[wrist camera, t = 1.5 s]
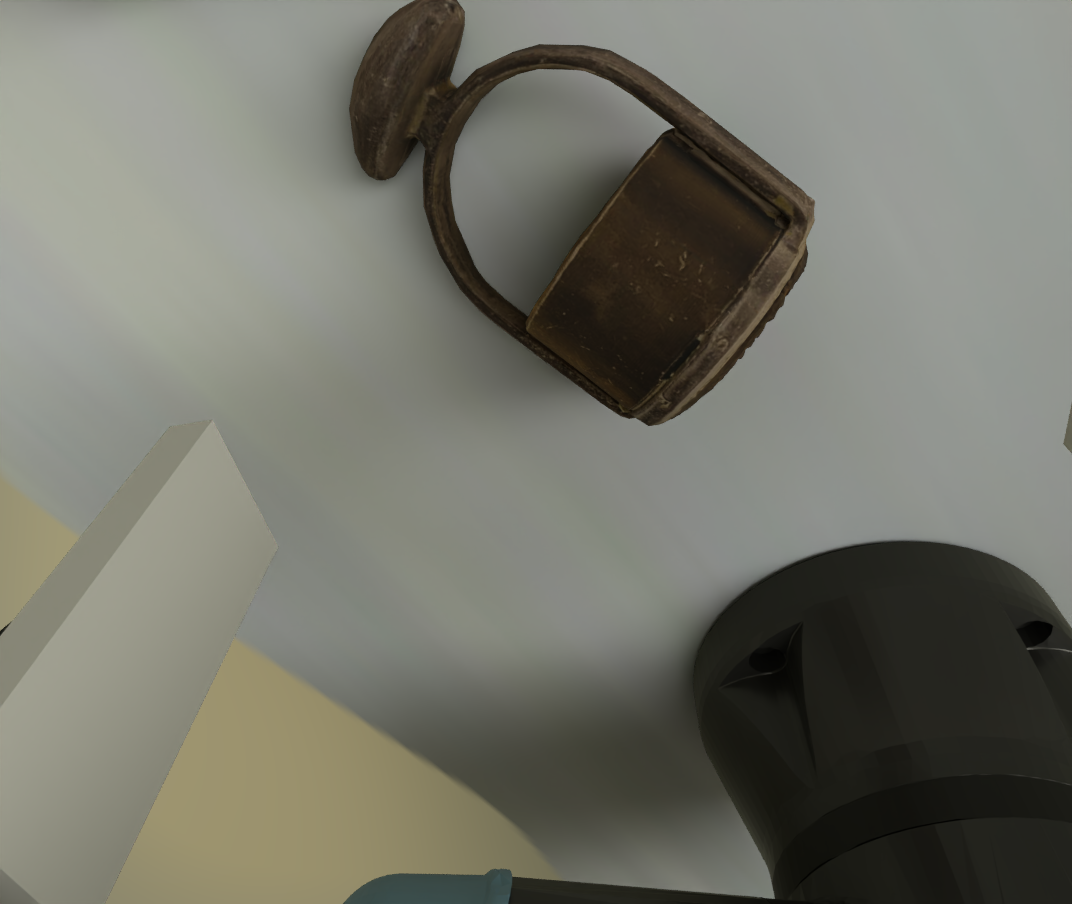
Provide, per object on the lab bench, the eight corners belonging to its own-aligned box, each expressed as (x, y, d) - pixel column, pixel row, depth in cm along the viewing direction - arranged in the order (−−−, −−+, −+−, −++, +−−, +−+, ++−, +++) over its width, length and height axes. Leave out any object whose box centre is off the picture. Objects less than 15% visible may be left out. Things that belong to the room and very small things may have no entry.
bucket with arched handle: (560, 533, 23) (901, 410, 18) (208, 205, 17) (567, -138, 12) (589, 377, 28) (863, 244, 23) (323, 78, 22) (615, -205, 17)
